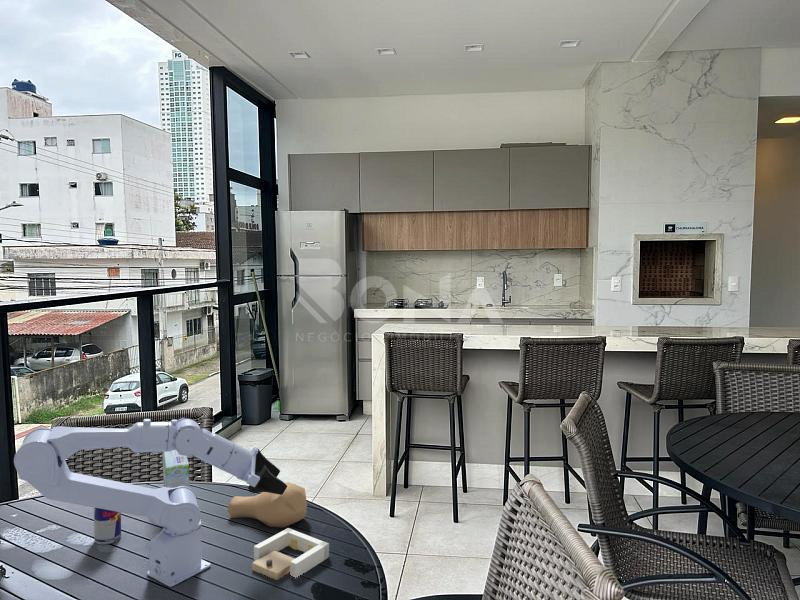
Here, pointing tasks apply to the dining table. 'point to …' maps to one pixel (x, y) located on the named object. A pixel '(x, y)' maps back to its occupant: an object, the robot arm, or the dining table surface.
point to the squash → (272, 506)
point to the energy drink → (106, 526)
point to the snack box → (175, 469)
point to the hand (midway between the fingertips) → (280, 482)
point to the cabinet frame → (288, 537)
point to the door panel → (273, 565)
